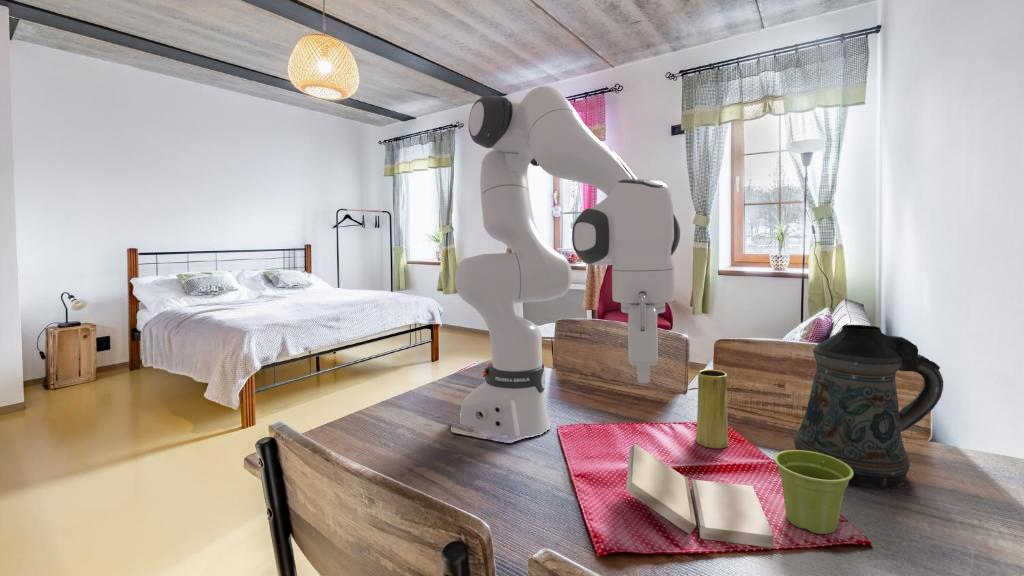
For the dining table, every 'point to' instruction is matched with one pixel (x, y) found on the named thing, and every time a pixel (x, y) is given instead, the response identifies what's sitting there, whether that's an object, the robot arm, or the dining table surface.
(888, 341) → the beer stein
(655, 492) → the loose plank
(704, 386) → the vase
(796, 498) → the plant pot
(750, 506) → the board
